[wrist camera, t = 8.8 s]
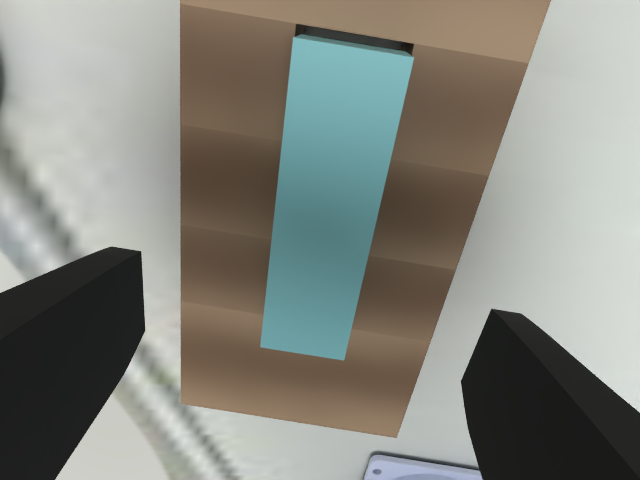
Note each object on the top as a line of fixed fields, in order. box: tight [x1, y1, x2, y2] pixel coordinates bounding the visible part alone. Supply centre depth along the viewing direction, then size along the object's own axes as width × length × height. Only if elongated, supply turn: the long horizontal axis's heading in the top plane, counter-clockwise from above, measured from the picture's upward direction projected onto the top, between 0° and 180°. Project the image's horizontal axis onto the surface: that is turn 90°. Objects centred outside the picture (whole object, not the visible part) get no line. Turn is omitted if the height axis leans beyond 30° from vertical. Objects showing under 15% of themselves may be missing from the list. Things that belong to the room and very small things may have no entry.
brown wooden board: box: [180, 0, 551, 438], centre depth 16 cm, size 22×10×3 cm, turn 171°
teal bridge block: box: [260, 34, 414, 360], centre depth 15 cm, size 10×3×5 cm, turn 172°
